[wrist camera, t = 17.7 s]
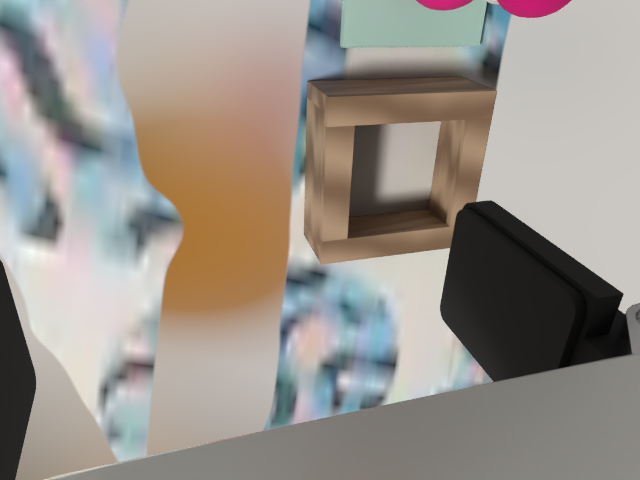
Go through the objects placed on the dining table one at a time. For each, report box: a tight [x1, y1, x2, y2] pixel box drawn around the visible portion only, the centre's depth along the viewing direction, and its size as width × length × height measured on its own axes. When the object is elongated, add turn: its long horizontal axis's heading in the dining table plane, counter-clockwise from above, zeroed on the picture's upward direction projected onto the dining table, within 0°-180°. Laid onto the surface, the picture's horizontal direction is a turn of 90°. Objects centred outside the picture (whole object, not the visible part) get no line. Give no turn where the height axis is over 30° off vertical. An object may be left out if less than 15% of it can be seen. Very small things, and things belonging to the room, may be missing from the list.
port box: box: [304, 77, 497, 264], centre depth 52 cm, size 16×16×6 cm
